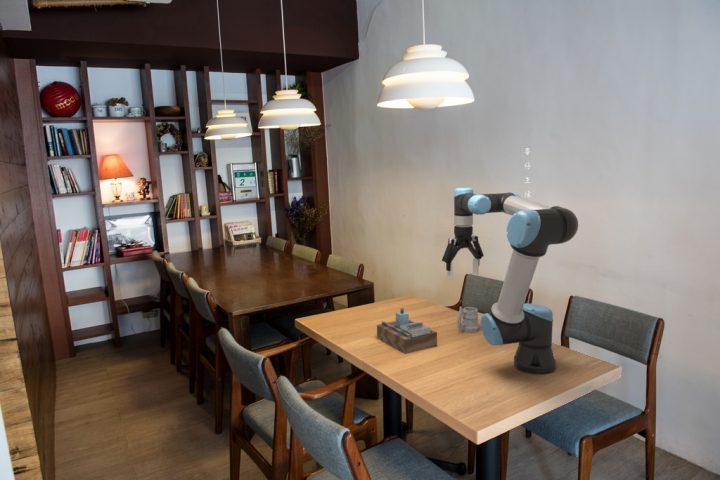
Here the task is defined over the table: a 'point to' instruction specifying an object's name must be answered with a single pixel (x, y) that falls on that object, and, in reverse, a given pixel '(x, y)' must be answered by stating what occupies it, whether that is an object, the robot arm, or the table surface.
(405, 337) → the socket box
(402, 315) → the blue square bottle
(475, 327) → the mug
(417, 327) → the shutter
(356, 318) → the table surface
